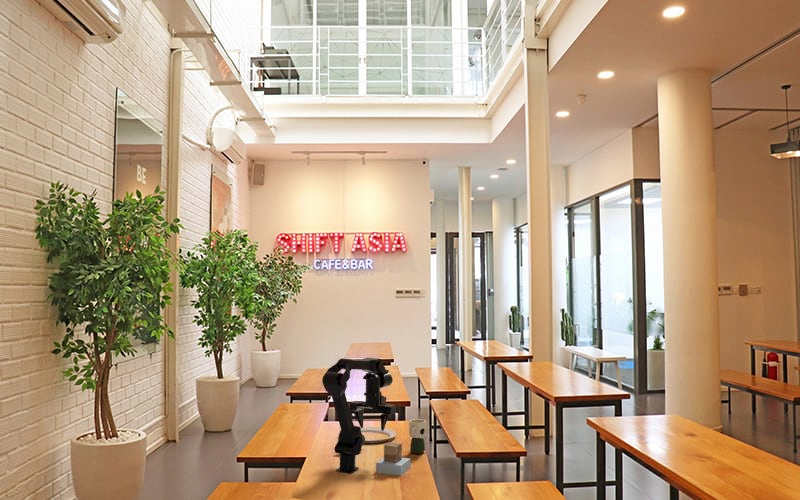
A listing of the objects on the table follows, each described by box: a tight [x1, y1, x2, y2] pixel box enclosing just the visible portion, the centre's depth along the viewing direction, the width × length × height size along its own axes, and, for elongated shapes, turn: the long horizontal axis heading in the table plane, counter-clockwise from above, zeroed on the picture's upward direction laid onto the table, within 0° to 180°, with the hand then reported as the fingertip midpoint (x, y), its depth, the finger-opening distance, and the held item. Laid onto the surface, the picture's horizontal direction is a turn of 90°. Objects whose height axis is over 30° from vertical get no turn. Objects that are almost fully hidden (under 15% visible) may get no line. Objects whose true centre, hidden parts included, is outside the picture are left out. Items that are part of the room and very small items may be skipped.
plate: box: [359, 426, 397, 444], centre depth 281 cm, size 26×26×2 cm
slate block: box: [375, 457, 411, 477], centre depth 233 cm, size 10×10×4 cm
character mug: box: [408, 418, 427, 454], centre depth 257 cm, size 11×7×13 cm, turn 155°
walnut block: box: [383, 441, 403, 463], centre depth 233 cm, size 5×5×6 cm
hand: (372, 429), depth 246 cm, fingers open, 9 cm apart
